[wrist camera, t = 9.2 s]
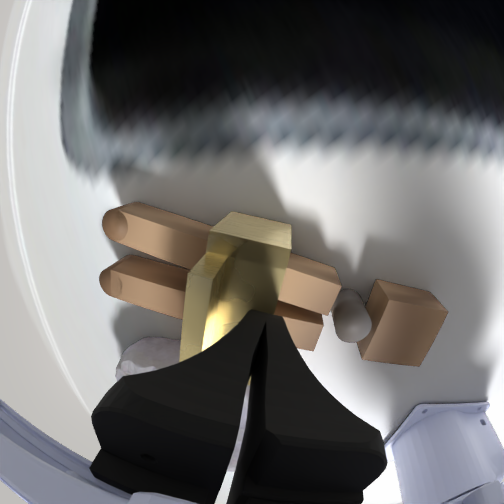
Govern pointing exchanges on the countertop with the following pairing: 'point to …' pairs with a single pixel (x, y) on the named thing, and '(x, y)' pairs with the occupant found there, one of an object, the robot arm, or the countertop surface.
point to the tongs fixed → (304, 311)
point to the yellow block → (233, 278)
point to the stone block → (160, 356)
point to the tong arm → (195, 244)
